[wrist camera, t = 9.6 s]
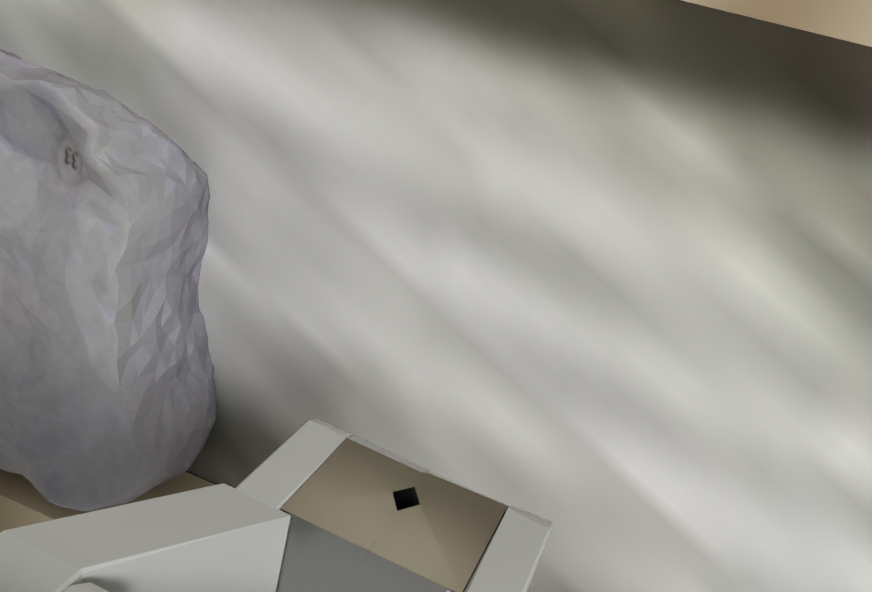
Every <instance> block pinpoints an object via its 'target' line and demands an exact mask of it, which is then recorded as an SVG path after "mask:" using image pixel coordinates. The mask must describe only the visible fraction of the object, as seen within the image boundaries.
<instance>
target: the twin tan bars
mask: <svg viewBox="0 0 872 592" xmlns="http://www.w3.org/2000/svg"><path fill="white" fill-rule="evenodd" d="M682 1H686V2H690V3H694V4H698V5H702V6H706V7H710V8H714V9H719V10H723V11H727V12H731V13H735V14H739V15H743V16H747V17H751V18H755V19H759V20H764V21H768V22H772V23H776V24H780V25H784V26H788V27H792V28H796V29H800V30H804V31H808V32H813V33H817V34H821V35H825V36H829V37H833V38H837V39H841V40H845V41H849V42H853V43H858V44H862V45H866V46H870V47H872V0H682ZM213 485H215V484H213V483H211V482H208V481H206V480H203V479H201V478H199V477H196V476H194V475H192V474H189V473H187V472H184V473H182V474H181V475H178V476H176V477H173V478H171V479H168V480H166V481H165V482H163V483H161V484H160V485H158V486H156V487H153V488H151V489H150V490H149V491H147V492H146V493H144V494H142V495H141V496H139V497H137V498H135V499H134V500H132V501H130V502H128V503H124V504H120V505H125V504H129V503H134V502H139V501H143V500H148V499H153V498H157V497H162V496H167V495H171V494H176V493H181V492H185V491H190V490H194V489H199V488H204V487H208V486H213ZM120 505H115V506H120ZM115 506H111V507H115ZM111 507H106V508H111ZM106 508H101V509H106ZM101 509H97V510H101ZM97 510H92V511H97ZM92 511H87V512H86V511H79V510H74V509H69V508H65V507H60V506H57V505H55V504H53V503H51V502H49V501H47V500H46V499H45V498H44V497H43V495H42V494H41V493H40V492H39V491H38V490H37V489H36V488H35V487H34V486H33V484H32V483H31V482H30V481H29V480H28V479H27V478H25V477H24V476H23V475H22V474H17V473H12V472H7V471H4V470H1V469H0V533H1V532H2V531H4V530H8V529H13V528H18V527H22V526H27V525H32V524H36V523H41V522H46V521H50V520H55V519H60V518H64V517H69V516H74V515H78V514H83V513H88V512H92Z"/></svg>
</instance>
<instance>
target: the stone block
mask: <svg viewBox="0 0 872 592" xmlns="http://www.w3.org/2000/svg"><path fill="white" fill-rule="evenodd" d="M209 198H210V194H209V187H208V180H207V175H206V174H205V173H204V171H203V170H202V169H201V168H200V167H199V166H198V165H197V164H196V163H195V162H193V161H192V160H191V159H190V158H189V157H188V155H187V154H186V153H185V152H184V151H183V150H182V149H181V148H180V147H178V146H177V145H176V144H175V143H174V142H173V141H172V140H171V139H170V138H169V137H168V136H167V135H165V134H164V133H163V132H162V131H161V130H160V129H159V128H158V127H156V126H155V125H153V124H152V123H150V122H149V121H148V120H146V119H143V118H141V117H138V116H137V115H136V114H134V113H133V112H132V111H131V110H130V109H128V108H127V107H126V106H124V105H123V104H121V103H119V102H118V101H116V100H115V99H114V98H112V97H111V96H110V95H108V94H107V93H106V92H105V91H103V90H96V89H93V88H91V87H89V86H87V85H84V84H82V83H80V82H78V81H75V80H73V79H71V78H68V77H65V76H63V75H61V74H59V73H57V72H55V71H51V70H48V69H45V68H42V67H39V66H37V65H34V64H32V63H30V62H27V61H25V60H22V59H21V58H20V57H18V56H17V55H15V54H14V53H11V52H8V51H4V50H1V49H0V469H1V470H4V471H7V472H12V473H17V474H22V475H23V476H24V477H25V478H27V479H28V480H29V481H30V482H31V483H32V484H33V486H34V487H35V488H36V489H37V490H38V491H39V492H40V493H41V494H42V495H43V497H44V498H45V499H46V500H47V501H49V502H51V503H53V504H55V505H57V506H60V507H65V508H69V509H74V510H79V511H86V512H87V511H92V510H97V509H101V508H106V507H111V506H115V505H120V504H124V503H128V502H130V501H132V500H134V499H135V498H137V497H139V496H141V495H142V494H144V493H146V492H147V491H149V490H150V489H151V488H153V487H156V486H158V485H160V484H161V483H163V482H165V481H166V480H168V479H171V478H173V477H176V476H178V475H181V474H182V473H184V472H186V471H187V470H188V469H189V468H190V466H191V465H192V463H193V462H194V461H195V459H196V458H197V456H198V455H199V453H200V452H201V450H202V449H203V447H204V446H205V443H206V441H207V439H208V437H209V434H210V432H211V430H212V428H213V425H214V423H215V414H216V407H215V385H214V380H213V372H214V367H213V364H212V361H211V357H210V354H209V350H208V338H207V332H206V327H205V321H204V317H203V315H202V313H201V311H200V309H199V299H198V282H199V276H200V269H201V262H202V258H203V256H204V253H205V249H206V246H207V242H208V202H209Z"/></svg>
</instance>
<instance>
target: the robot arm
mask: <svg viewBox="0 0 872 592" xmlns="http://www.w3.org/2000/svg"><path fill="white" fill-rule="evenodd" d="M551 530H552V522H551V521H548V520H546V519H543V518H541V517H538V516H536V515H534V514H531V513H529V512H526V511H524V510H521V509H519V508H516V507H514V506H512V505H511V506H510V507H509V506H508V505H505V504H503V503H501V502H499V501H496V500H494V499H492V498H489V497H487V496H485V495H483V494H480V493H478V492H476V491H473V490H471V489H469V488H467V487H464V486H462V485H460V484H457V483H455V482H453V481H451V480H448V479H446V478H444V477H441V476H439V475H437V474H435V473H432V472H430V471H429V470H427V469H425V468H423V467H421V466H419V465H417V464H414V463H412V462H410V461H408V460H406V459H404V458H402V457H400V456H397V455H395V454H393V453H391V452H389V451H387V450H385V449H383V448H380V447H378V446H376V445H374V444H372V443H370V442H368V441H366V440H363V439H361V438H359V437H357V436H355V435H354V436H352V435H351V434H350V433H348V432H345V431H343V430H341V429H339V428H337V427H334V426H332V425H330V424H328V423H326V422H323V421H321V420H319V419H313V420H309V421H307V422H305V423H304V424H303V425H302V426H301V427H300V428H299V429H298V430H297V431H296V432H295V433H294V434H292V435H291V436H290V437H289V438H288V439H287V440H286V441H285V442H284V443H283V444H282V445H281V446H280V447H278V448H277V449H276V450H275V451H274V452H273V453H272V454H271V455H270V456H269V457H268V458H267V459H266V460H265V461H263V462H262V463H261V464H260V465H259V466H258V467H257V468H256V469H255V470H254V471H253V472H252V473H251V474H250V475H248V476H247V477H246V478H245V479H244V480H243V481H242V482H241V483H240V484H239V485H238V486H237V487H236V488H233V487H231V486H228V485H226V484H224V483H222V484H218V485H213V486H208V487H204V488H199V489H194V490H190V491H185V492H181V493H176V494H171V495H167V496H162V497H157V498H153V499H148V500H143V501H139V502H134V503H129V504H125V505H120V506H115V507H111V508H106V509H101V510H97V511H92V512H88V513H83V514H78V515H74V516H69V517H64V518H60V519H55V520H50V521H46V522H41V523H36V524H32V525H27V526H22V527H18V528H13V529H8V530H4V531H2V532H1V533H0V592H528V591H529V588H530V586H531V583H532V580H533V578H534V575H535V572H536V570H537V567H538V564H539V562H540V559H541V557H542V554H543V551H544V549H545V546H546V543H547V541H548V538H549V535H550V533H551Z"/></svg>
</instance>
